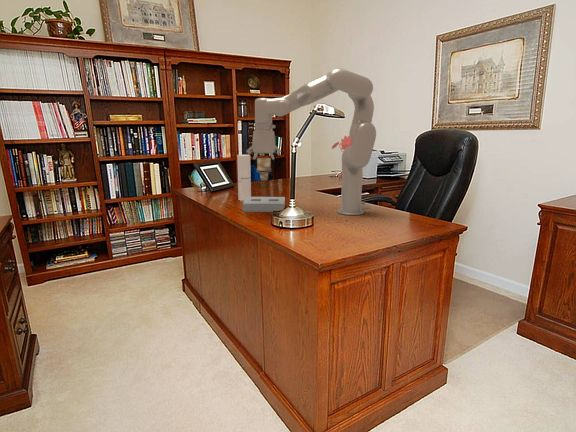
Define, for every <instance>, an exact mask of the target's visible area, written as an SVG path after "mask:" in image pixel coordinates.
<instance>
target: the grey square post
mask: <svg viewBox="0 0 576 432" xmlns="http://www.w3.org/2000/svg"><path fill="white" fill-rule="evenodd" d="M236 159H237V162H236V163H237V191H238V192H237V195H238V197H237V198H238V201H239V200H240V202H244V201H245V199H246V198H247V197H252V189H251V188H252V185H251V184H252V182H251V181H252V180H251V179H252V178H251V176H252V175H251V170H252V169H251V156H250V155H249V154H237V156H236Z"/></svg>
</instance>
